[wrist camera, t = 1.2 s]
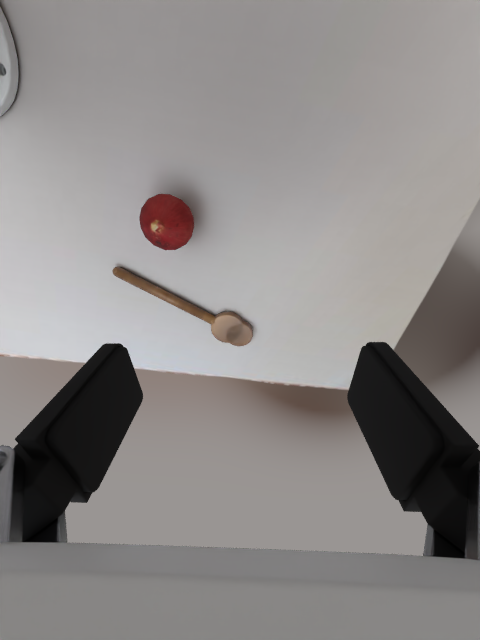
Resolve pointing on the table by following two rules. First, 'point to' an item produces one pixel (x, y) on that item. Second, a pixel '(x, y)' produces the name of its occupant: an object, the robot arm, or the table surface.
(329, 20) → the table surface
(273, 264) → the table surface
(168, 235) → the onion
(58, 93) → the table surface
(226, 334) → the spoon
